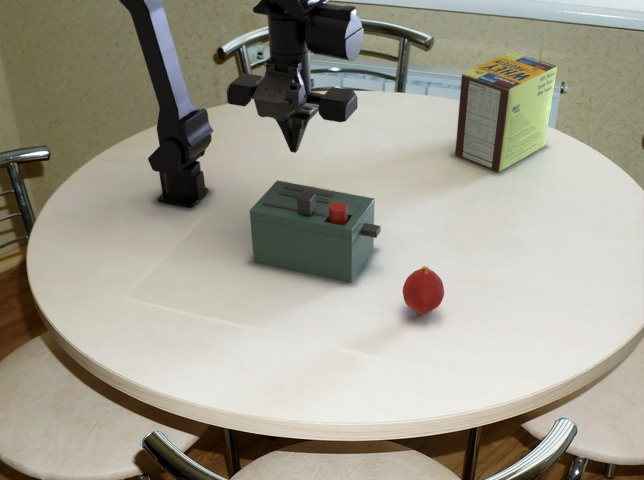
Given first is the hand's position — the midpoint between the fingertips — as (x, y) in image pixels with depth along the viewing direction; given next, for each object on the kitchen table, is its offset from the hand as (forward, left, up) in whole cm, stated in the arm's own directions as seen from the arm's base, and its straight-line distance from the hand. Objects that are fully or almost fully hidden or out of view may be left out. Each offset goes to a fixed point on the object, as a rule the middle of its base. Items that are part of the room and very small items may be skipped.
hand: (294, 151), depth 131 cm
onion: (+26, -16, -13) cm, 33 cm away
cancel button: (+11, -10, -4) cm, 15 cm away
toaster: (+7, -7, -13) cm, 17 cm away
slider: (+6, -10, -4) cm, 12 cm away
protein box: (+25, +39, -13) cm, 48 cm away
